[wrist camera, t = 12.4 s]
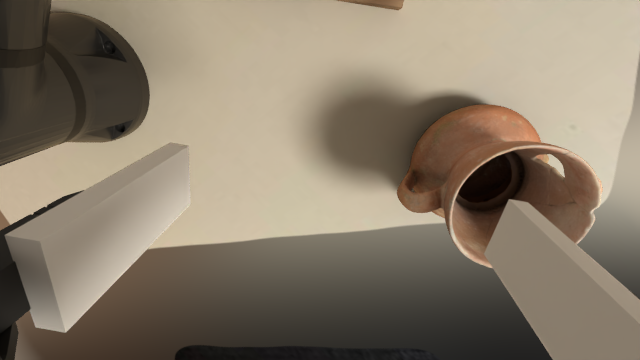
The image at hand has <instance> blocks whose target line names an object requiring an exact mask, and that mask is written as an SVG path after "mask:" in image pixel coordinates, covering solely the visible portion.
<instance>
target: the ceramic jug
mask: <svg viewBox="0 0 640 360" xmlns="http://www.w3.org/2000/svg"><path fill="white" fill-rule="evenodd" d="M547 154H552V155H553V156H555V157H556V158H557V159H558V160H559V161H560V162H561V163H562V165H563V167H564V174H565V177H563V176H562V175H561V174H560V173H559V172H558V171H557V170H556V169H555V168H553V167H552V166H550V165H549V164H547V162H548V160H549V158H548V156H547ZM412 188H413V189H414V191H415V193H414V192H411V189H412ZM602 191H603V189H602V184H601V181H600V179H599V178H598V177H597V175H596V174H595V172H594V170H593V169H592V168H591V166H590V165H589V164H588V163H587V162H586V161H585V160H583V159H582V158H581V157H579V156H578V155H576V154H574V153H572V152H570V151H569V150H567V149H564V148H561V147H558V146H555V145H551V144H546V143H541V140H540V138H539V135H538V134H537V132H536V130H535V129H534V127H533V126H532V125H531V124H530V122H529V121H528V120H527V119H525V118H524V117H523V116H522V115H520V114H519V113H517V112H515V111H513V110H511V109H508V108H505V107H501V106H496V105H472V106H467V107H464V108H460V109H458V110H455V111H453V112H450V113H448V114H446V115H445V116H443V117H441V118H440V119H438V120H437V121H436V122H435V123H433V124H432V125H431V126H430V127H429V128H428V129H427V130H426V131H425V132H424V134H423V135H422V136H421V138H420V139H419V141H418V142H417V144H416V146H415V149H414V151H413V154H412V158H411V163H410V167H409V170H408V172H407V175H406V176H405V177H404V179H403V180H402V182H401V184H400V185H399V187H398V190H397V195H398V198H399V200H400V202H401V203H402V204H403V205H404V206H405V207H406V208H407V209H408V210H410V211H412V212H417V213H426V212H431V211H432V212H433V213H435V214H437V215H439V216H441V217H443V218H445V220H446V225H447V228H448V231H449V234H450V236H451V238H452V240H453V242H454V244H455V245H456V247H457V248H458V249H459V250H460V251H461V252H462V253H463V254H464V255H465V256H466V257H468V258H469V259H471V260H472V261H474V262H477V263H478V264H481V265H485V266H487V267H490V268H493V267H492V266H491V264H490V263H489V261H488V260H487V258H486V256H485V255H484V253H485V251H486V248H487V246H488V244H489V242H490V240H491V237H492V235H493V233H494V231H495V229H496V226H497V224H498V222H499V220H500V218H501V215H502V213H503V211H504V209H505V207H506V205H507V202H508V200H509V199H511V200H517V201H523V202H528V203H529V204H530V205H532V206H533V207H534V208H535V209H536V210H537V211H538V212H540V213H541V214H542V215H543V216H544V217H545V218H547V219H548V220H549V221H550V222H551V223H552V224H553V225H555V226H556V227H557V228H558V229H559V230H560V231H561V232H563V233H564V234H565V235H566V236H567V237H568V238H569V239H571V240H572V241H573V242H574V243H575V244H576V245H577V244H578V243H579V242H580V241H581V240H582V239H583V238H584V236H585V235H586V234H587V233H588V231H589V230H590V228H591V227H592V225H593V223H594V221H595V216H594V213H593V211H594V210H595V209H596V208H598V207H599V206H600V203H601V193H602Z"/></svg>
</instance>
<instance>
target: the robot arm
mask: <svg viewBox="0 0 640 360" xmlns="http://www.w3.org/2000/svg"><path fill="white" fill-rule="evenodd" d="M50 9H51V0H0V166H2V165H5V164H7V163H10V162H13V161H15V160H18V159H21V158H23V157H26V156H29V155H31V154H34V153H37V152H40V151H42V150H45V149H48V148H50V147H53V146H56V145H58V144H61V143H64V142H108V141H113V140H116V139H119V138H121V137H124V136H126V135H128V134H130V133H132V132H133V131H135V130H136V129H137V128H138V127H139V126H140V125H141V123H142V122H143V120H144V118H145V116H146V114H147V111H148V107H149V98H150V94H149V84H148V80H147V76H146V73H145V70H144V68H143V65H142V63H141V61H140V59H139V58H138V56H137V54H136V53H135V51H134V50H133V48H132V47H131V46H130V45H129V43H128V42H127V41H126V40H125V39H124V38H123V37H122V36H121V35H120V34H119V33H118V32H116V31H115V30H114V29H113V28H111V27H110V26H108V25H107V24H105V23H103V22H102V21H100V20H97V19H95V18H93V17H90V16H86V15H82V14H75V13H65V12H58V13H50ZM189 205H190V173H189V146H187V145H181V144H175V143H169V144H167V145H165V146H163V147H161V148H160V149H158V150H156V151H154V152H153V153H151V154H149V155H147V156H145V157H144V158H142V159H140V160H138V161H136V162H135V163H133V164H131V165H129V166H127V167H126V168H124V169H122V170H120V171H118V172H117V173H115V174H113V175H111V176H110V177H108V178H106V179H104V180H102V181H101V182H99V183H97V184H95V185H93V186H92V187H90V188H88V189H86V190H83V191H80V192H76V193H73V194H70V195H67V196H64V197H62V198H60V199H58V200H56V201H54V202H52V203H51V204H49V205H47V207H43V208H41V209H39V210H38V211H36V212H34V214H33V215H28V216H26V217H25V218H23V219H21V220H19V221H17V222H15V223H13V224H12V225H10V226H8V227H6V228H4V229H2V230H1V231H0V360H14V359H15V352H16V345H17V339H18V329H17V325H16V321H17V320H18V319H19V318H20V317H22V316H23V315H24V314H25V313H26V312H27V311H29V310H30V312H31V315H32V318H33V321H34V324H35V327H38V328H43V329H49V330H54V331H60V332H65V333H66V332H67V331H68V330H69V329H70V328H71V327H72V326H73V325H74V324H75V323H76V321H77V320H78V319H79V318H80V317H81V316H82V315H83V314H84V313H85V312H86V311H87V310H88V309H89V308H90V307H91V306H92V305H93V304H94V303H95V302H96V301H97V300H98V299H99V298H100V297H101V296H102V295H103V294H104V293H105V292H106V291H107V290H108V289H109V288H110V287H111V285H112V284H113V283H114V282H115V281H116V280H117V279H118V278H119V277H120V276H121V275H122V274H123V273H124V272H125V271H126V270H127V269H128V268H129V267H130V266H131V265H132V264H133V263H134V262H135V261H136V260H137V259H138V258H139V257H140V256H141V255H142V254H143V253H144V252H145V251H146V250H147V249H148V248H149V247H150V246H151V244H152V243H153V242H154V241H155V240H156V239H157V238H158V237H159V236H160V235H161V234H162V233H163V232H164V231H165V230H166V229H167V228H168V227H169V226H170V225H171V224H172V223H173V222H174V221H175V220H176V219H177V218H178V217H179V216H180V215H181V214H182V213H183V212H184V211H185V210H186V209H187V208H188V206H189ZM484 255H485V256H486V258H487V260H488V261H489V263H490V264H491V266H492V267H493V269H494V270H495V272H496V273H497V275H498V276H499V278H500V279H501V281H502V282H503V284H504V286H505V287H506V289H507V290H508V291H509V293H510V295H511V296H512V298H513V299H514V301H515V302H516V304H517V305H518V307H519V308H520V310H521V311H522V313H523V315H524V316H525V318H526V319H527V321H528V322H529V324H530V325H531V327H532V328H533V330H534V331H535V333H536V334H537V336H538V337H539V339H540V341H541V342H542V343H543V345H544V347H545V348H546V350H547V351H548V352H549V354H550V356H551V357H552V359H553V360H640V299H639V298H638V297H637V296H636V295H635V294H634V293H633V292H631V291H630V290H628V289H627V288H625V287H624V286H623V285H622V284H621V283H620V282H619V281H618V280H616V279H615V278H614V277H613V276H612V275H611V274H609V273H608V272H607V271H606V270H605V269H604V268H603V267H601V266H600V265H599V264H598V263H597V262H596V261H595V260H593V259H592V258H591V257H590V256H589V255H588V254H587V253H585V252H584V251H583V250H582V249H581V248H579V247H578V246H577V245H576V244H575V243H574V242H573V241H572V240H571V239H569V238H568V237H567V236H566V235H565V234H564V233H563V232H561V231H560V230H559V229H558V228H557V227H556V226H555V225H553V224H552V223H551V222H550V221H549V220H548V219H547V218H545V217H544V216H543V215H542V214H541V213H540V212H538V211H537V210H536V209H535V208H534V207H533V206H532V205H530V204H529V203H528V202H523V201H517V200H511V199H509V200H508V202H507V205H506V207H505V209H504V211H503V213H502V215H501V218H500V220H499V222H498V224H497V226H496V229H495V231H494V233H493V235H492V237H491V240H490V242H489V244H488V246H487V248H486V251H485V253H484Z"/></svg>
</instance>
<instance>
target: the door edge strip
mask: <svg viewBox="0 0 640 360" xmlns="http://www.w3.org/2000/svg"><path fill="white" fill-rule="evenodd" d="M338 1H344V2H350V3H356V4H363V5H369V6H375V7H381V8H388V9H394V10H399V9H401V8H402V6H403V1H404V0H338Z"/></svg>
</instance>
